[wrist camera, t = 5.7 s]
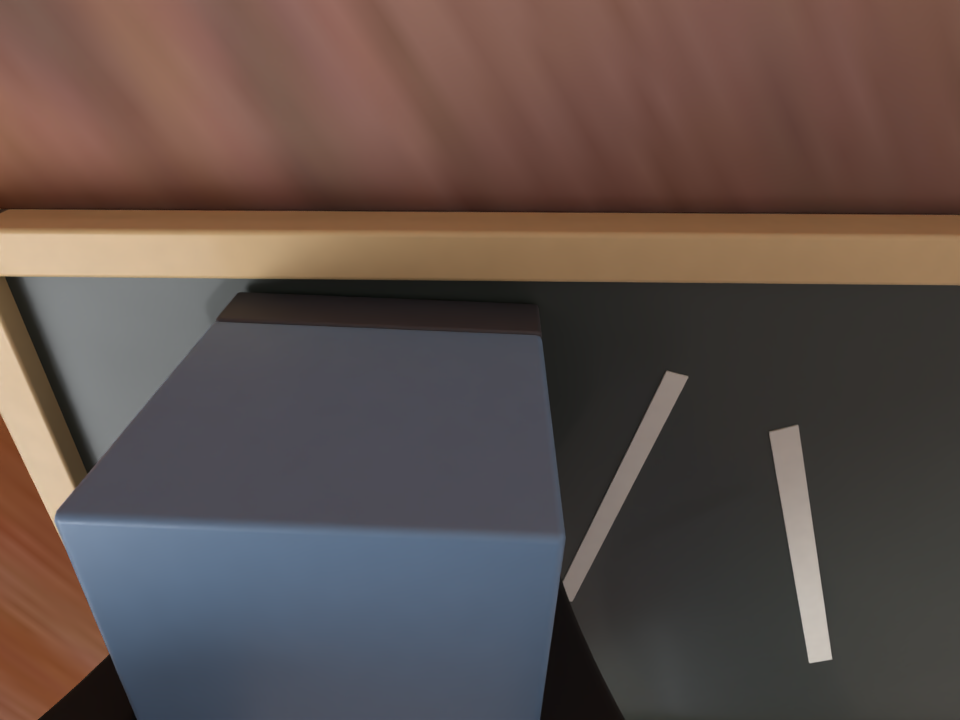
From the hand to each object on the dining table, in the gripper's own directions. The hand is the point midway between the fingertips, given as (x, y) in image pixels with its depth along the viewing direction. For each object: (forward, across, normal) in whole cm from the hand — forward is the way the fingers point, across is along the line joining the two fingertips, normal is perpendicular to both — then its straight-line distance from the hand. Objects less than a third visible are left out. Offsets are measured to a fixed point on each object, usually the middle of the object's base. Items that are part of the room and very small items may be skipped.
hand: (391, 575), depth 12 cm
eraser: (+1, 0, 0) cm, 1 cm away
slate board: (+2, -6, 0) cm, 6 cm away
